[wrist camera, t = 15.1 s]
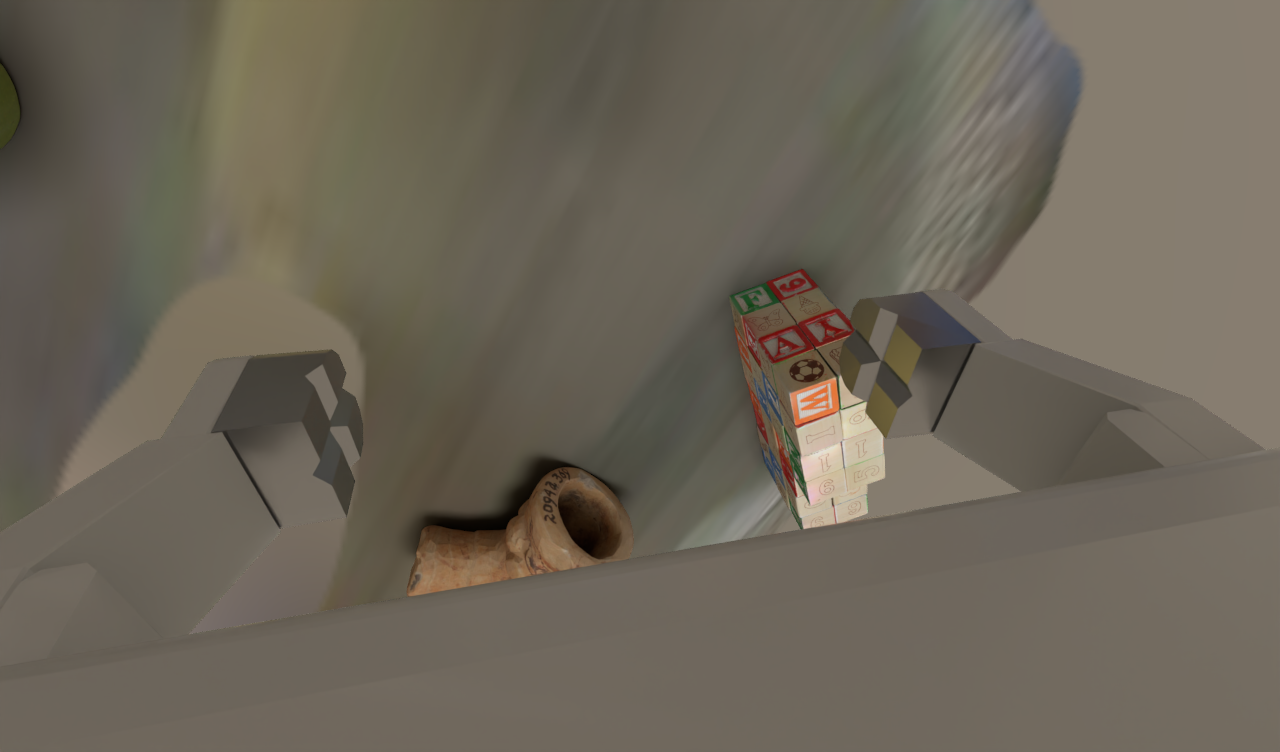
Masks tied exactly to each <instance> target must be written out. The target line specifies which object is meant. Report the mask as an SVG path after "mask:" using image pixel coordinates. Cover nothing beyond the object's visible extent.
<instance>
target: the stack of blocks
mask: <svg viewBox="0 0 1280 752" xmlns="http://www.w3.org/2000/svg"><path fill="white" fill-rule="evenodd" d="M729 299H730V304H731V308H732V313H733V318H734V323H735V332H736V337H737V342H738V346H739V351H740V355H741V361H742V366H743V370H744V374H745V379H746V380H747V382H748V387H749V391H750V396H751V400H752V403H753V406H754V411H755V415H756V420H757V431H758V435H759V440H760V444H761V447H762V452H763V456H764V461H765V464H766V466H767V468H768V470H769V471H770V473H771V475H772V477H773V479H774V481H775V483H776V485H777V487H778V489H779V491H780V493H781V495H782V497H783V499H784V501H785V503H786V505H787V507H788V508H789V510H791V511H792V513H793V515H794V517H795V519H796V521H797V523H798V525H799V527H800V529H807V528H812V527H818V526H824V525H830V524H836V523H842V522H845V521H848V520H850V519H853V518H856V517H859V516H861V515H864V514H867V513H868V503H867V484H869V483H872V482H875V481H878V480H881V479H883V478H885V458H884V453H883V434H882V433H881V432H880V431H879V429H878V428H877V427H876V425H875V424H874V423H873V422H872V420H871V419H870V418H869V416H868V415H867V414H866V413H865V410H866V404H867V402H865V401H863V400H861V399H859V398H857V397H856V396H854V395H852V394H851V393H850V391H849V390H848V389H847V387H846V386H845V384H844V382H843V379H842V377H841V374H840V364H839V357H840V353H841V349H842V345H843V342H844V341H845V340H846V339H847V338H848V337H849V336H850V335H851V334H852V333H853V332H854V329H853V327H852V325H851V323H850V320H849V319H848V318H847V317H846V316H845V315H844V314H843V313H842V312H841V310H839V309H837V307H836V306H835V305H834V304H833V303H832V302H831V301H830V300H829V299H828V298H827V296H826V295H825V294H824V293H823V292H822V291H821V290H820V289H819V287H818V286H817V284H816V283H815V282H814V281H813V280H812V279H811V278H810V277H809V276H808V274H807V273H806V272H805V271H804V270H803V269H801V270H798V271H795V272H793V273H790V274H787V275H784V276H782V277H779V278H776V279H774V280H771V281H768V282H766V283H764V284H762V285H759V286H756V287H753V288H751V289H748V290H745V291H742V292H740V293H737V294H734V295H731V296H729Z"/></svg>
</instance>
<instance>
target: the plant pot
mask: <svg viewBox="0 0 1280 752" xmlns="http://www.w3.org/2000/svg"><path fill="white" fill-rule="evenodd" d="M19 120H20V107H19V103H18V97H17V94H16V90H15V87H14V85H13V83H12V81H11V79H10V77H9V75H8V74H7V72H6V70H5V69H4V67H3V66H2V65H1V63H0V149H2V148H3V147H4V146H5V145H6V144H7V143H8V142H9V141H10V139H11V138H12V136H13V134H14V133H15V130H16V128H17V125H18V123H19Z"/></svg>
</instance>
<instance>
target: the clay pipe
mask: <svg viewBox="0 0 1280 752" xmlns="http://www.w3.org/2000/svg"><path fill="white" fill-rule="evenodd" d="M633 543H634V538H633V529H632V525H631V521H630V518H629V516H628V514H627V512H626V510H625V509H624V507H623V506H622V504H621V503H620V501H619V500H618V498H617V497H616V496H615V495H614V493H613V492H612V491H611V490H610V489H609V488H608V487H607V486H606V485H605V484H603V483H602V482H601V481H600V480H598V479H597V478H595V477H594V476H592V475H591V474H589V473H587V472H586V471H584V470H582V469H579V468H573V467H562V468H558V469H555V470H553V471H551V472H549V473H548V474H546V475H545V476H544V477H543V478H542V479H541V480H540V482H539V483H538V484H537V486H536V488H535V489H534V491H533V493H532V494H531V496H530V499H528V500H527V501H526V502H525V503H524V504H523V505H522V506H521V507H520V509H519V511H518V516H516V517H514V518H512V519H511V520H510V521H509V522H508V525H507V528H506V529H505V530H477V531H475V532H469V531H462V530H456V529H449V528H445V527H442V526H437V525H430V526H427V527H425V528H424V529H422V531H421V537H420V542H419V545H418V548H417V552H416V554H417V556H416V559H415V562H414V565H413V567H412V569H411V573H410V578H409V583H408V586H407V596H408V597H410V596H416V595H422V594H427V593H433V592H439V591H445V590H451V589H457V588H462V587H468V586H474V585H480V584H486V583H492V582H497V581H503V580H509V579H515V578H521V577H527V576H532V575H538V574H544V573H550V572H556V571H562V570H567V569H573V568H579V567H585V566H591V565H597V564H602V563H608V562H614V561H620V560H626V559H629V557H630V554H631V552H632V548H633Z"/></svg>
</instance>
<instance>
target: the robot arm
mask: <svg viewBox="0 0 1280 752" xmlns="http://www.w3.org/2000/svg"><path fill="white" fill-rule="evenodd" d="M850 323H851V325H852V327H853V329H854V332H853V333H852V334H851V335H850V336H849V337H848V338H847V339H846V340H845V341H844V342H843V345H842V349H841V353H840V357H839V364H840V374H841V377H842V379H843V382H844V384H845V386H846V387H847V389H848V390H849V391H850V393H851V394H852V395H854V396H856V397H857V398H859V399H861V400H863V401H865V402H867V404H866V410H865V413H866V414H867V415H868V416H869V418H870V419H871V420H872V422H873V423H874V424H875V425H876V427H877V428H878V429H879V431H880V432H881V433H882V434H883V436H884V437H885V438H886V439H889V438H899V437H907V436H914V435H915V436H916V435H924V434H933V436H934V437H935V438H937V439H938V440H940V441H942V442H943V443H945V444H946V445H948V446H950V447H951V448H953V449H954V450H956V451H957V452H959V453H961V454H962V455H964V456H965V457H967V458H969V459H970V460H972V461H974V462H975V463H977V464H978V465H980V466H981V467H983V468H985V469H986V470H988V471H989V472H991V473H993V474H994V475H996V476H997V477H999V478H1001V479H1002V480H1004V481H1006V482H1007V483H1009V484H1010V485H1012V486H1013V487H1015V488H1017V489H1018V490H1020V491H1021V492H1018V493H1012V494H1007V495H1001V496H994V497H989V498H983V499H977V500H971V501H966V502H959V503H954V504H948V505H942V506H936V507H930V508H924V509H919V510H912V511H907V512H901V513H895V514H889V515H883V516H877V517H871V518H865V519H860V520H853V521H848V522H842V523H836V524H830V525H824V526H818V527H812V528H807V529H801V530H795V531H789V532H783V533H777V534H772V535H766V536H760V537H754V538H748V539H742V540H737V541H731V542H725V543H719V544H713V545H707V546H702V547H696V548H690V549H684V550H678V551H672V552H667V553H661V554H655V555H649V556H643V557H637V558H632V559H626V560H620V561H614V562H608V563H602V564H597V565H591V566H585V567H579V568H573V569H567V570H562V571H556V572H550V573H544V574H538V575H532V576H527V577H521V578H515V579H509V580H503V581H497V582H492V583H486V584H480V585H474V586H468V587H462V588H457V589H451V590H445V591H439V592H433V593H427V594H422V595H416V596H410V597H404V598H398V599H392V600H387V601H381V602H375V603H369V604H363V605H357V606H351V607H346V608H340V609H334V610H328V611H322V612H316V613H311V614H305V615H299V616H293V617H287V618H282V619H276V620H270V621H264V622H258V623H252V624H247V625H241V626H235V627H229V628H223V629H217V630H211V631H206V632H200V633H194V634H189V633H190V632H191V631H192V630H193V629H194V628H195V626H196V625H197V624H198V623H199V622H200V621H201V620H202V619H203V618H204V617H205V615H206V614H207V613H208V612H209V611H210V610H211V609H212V608H213V607H214V605H215V604H216V603H217V602H218V601H219V600H220V598H222V597H223V595H224V594H225V593H226V592H227V591H228V590H229V589H230V588H231V586H233V584H234V583H235V582H236V581H237V580H238V579H239V578H240V577H241V576H242V574H243V573H244V572H245V571H246V570H247V569H248V568H249V567H250V566H251V564H252V563H253V562H254V561H255V560H256V559H257V557H259V556H260V554H261V553H262V552H263V551H264V550H265V549H266V548H267V547H268V546H269V544H270V543H271V542H272V541H273V540H274V539H275V538H276V537H277V535H279V533H280V532H281V531H280V529H281V528H287V527H293V526H299V525H305V524H311V523H317V522H322V521H328V520H334V519H340V518H346V517H347V514H348V509H349V505H350V501H351V496H352V492H353V488H354V483H355V480H354V477H353V475H352V472H351V470H350V467H351V466H352V465H353V464H354V463H355V462H356V461H357V460H359V459H360V457H361V452H362V446H363V423H362V418H361V413H360V409H359V406H358V403H357V401H356V398H355V396H353V395H352V394H350V393H349V392H347V391H345V390H344V389H343V388H342V386H343V383H344V379H345V376H346V371H345V369H344V367H343V364H342V362H341V359H340V357H339V355H338V354H337V353H336V352H335V351H333V350H319V351H305V352H293V353H279V354H267V355H257V356H242V357H232V358H223V359H216V360H213V361H211V362H209V363H207V365H206V366H205V368H204V369H203V371H202V373H201V374H200V376H199V378H198V379H197V381H196V383H195V384H194V386H193V387H192V389H191V390H190V392H189V394H188V395H187V397H186V399H185V400H184V402H183V404H182V405H181V407H180V408H179V410H178V412H177V413H176V415H175V416H174V418H173V420H172V421H171V423H170V424H169V426H168V428H167V429H166V431H165V432H164V434H163V436H162V437H161V439H158V440H150V441H146V442H144V443H142V444H141V445H139V446H138V447H136V448H134V449H133V450H131V451H130V452H128V453H127V454H125V455H123V456H122V457H120V458H118V459H117V460H115V461H114V462H112V463H110V464H109V465H107V466H106V467H104V468H102V469H101V470H99V471H98V472H96V473H94V474H93V475H91V476H90V477H88V478H86V479H85V480H83V481H82V482H80V483H78V484H77V485H75V486H74V487H72V488H70V489H69V490H67V491H66V492H64V493H62V494H61V495H59V496H58V497H56V498H54V499H53V500H51V501H50V502H48V503H46V504H45V505H43V506H42V507H40V508H38V509H37V510H35V511H34V512H32V513H30V514H29V515H27V516H26V517H24V518H22V519H21V520H19V521H18V522H16V523H14V524H13V525H11V526H10V527H8V528H6V529H5V530H3V531H2V532H0V752H1280V448H1275V449H1269V450H1265V449H1264V448H1263V447H1261V446H1260V445H1259V444H1257V443H1256V442H1254V441H1253V440H1251V439H1250V438H1248V437H1247V436H1245V435H1244V434H1242V433H1241V432H1240V431H1238V430H1237V429H1235V428H1234V427H1232V426H1231V425H1229V424H1228V423H1226V422H1225V421H1223V420H1222V419H1221V418H1219V417H1218V416H1216V415H1215V414H1213V413H1212V412H1210V411H1209V410H1208V409H1206V408H1205V407H1203V406H1202V405H1200V404H1199V403H1198V402H1196V401H1195V400H1193V399H1192V398H1189V397H1186V396H1183V395H1180V394H1178V393H1175V392H1172V391H1169V390H1166V389H1163V388H1161V387H1158V386H1155V385H1152V384H1149V383H1146V382H1143V381H1141V380H1138V379H1135V378H1131V377H1129V376H1126V375H1123V374H1120V373H1118V372H1115V371H1112V370H1109V369H1106V368H1104V367H1101V366H1098V365H1095V364H1092V363H1089V362H1086V361H1084V360H1081V359H1078V358H1075V357H1072V356H1069V355H1066V354H1064V353H1061V352H1058V351H1055V350H1052V349H1049V348H1047V347H1044V346H1041V345H1038V344H1035V343H1032V342H1029V341H1027V340H1024V339H1014V340H1013V339H1012V338H1010V337H1009V336H1008V335H1007V334H1005V333H1004V332H1003V331H1002V330H1000V329H999V328H998V327H997V326H995V325H994V324H993V323H992V322H990V321H989V320H988V319H987V318H985V317H984V316H983V315H982V314H980V313H979V312H978V311H977V310H975V309H974V308H973V307H972V306H970V305H969V304H968V303H967V302H965V301H964V300H963V299H962V298H960V297H959V296H958V295H957V294H955V293H954V292H953V291H950V290H946V289H935V290H928V291H920V292H915V293H908V294H900V295H891V296H883V297H874V298H866V299H860V300H859V301H858V302H857V304H856V305H855V307H854V308H853V311H852V314H851V318H850Z"/></svg>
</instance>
